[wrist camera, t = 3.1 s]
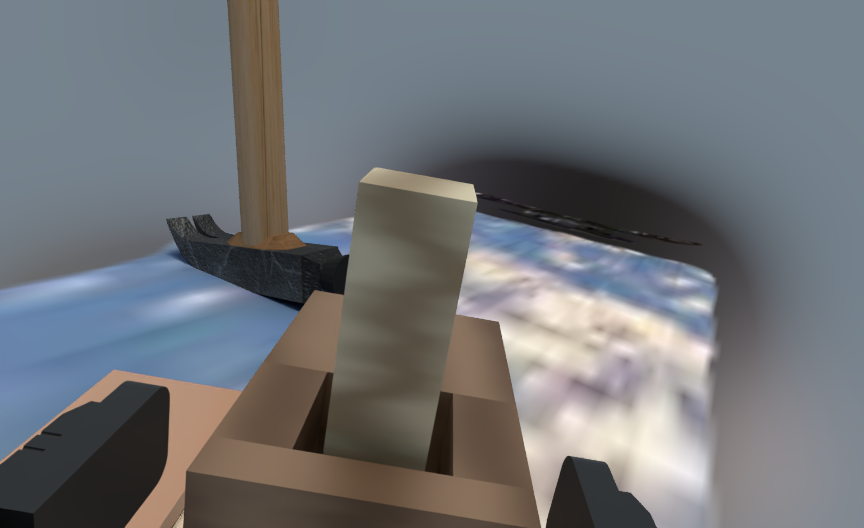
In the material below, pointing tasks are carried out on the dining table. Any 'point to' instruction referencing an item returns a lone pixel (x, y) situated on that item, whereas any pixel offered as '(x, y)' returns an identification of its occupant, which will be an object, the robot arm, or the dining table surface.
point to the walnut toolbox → (352, 479)
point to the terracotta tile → (188, 432)
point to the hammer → (260, 180)
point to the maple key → (397, 316)
